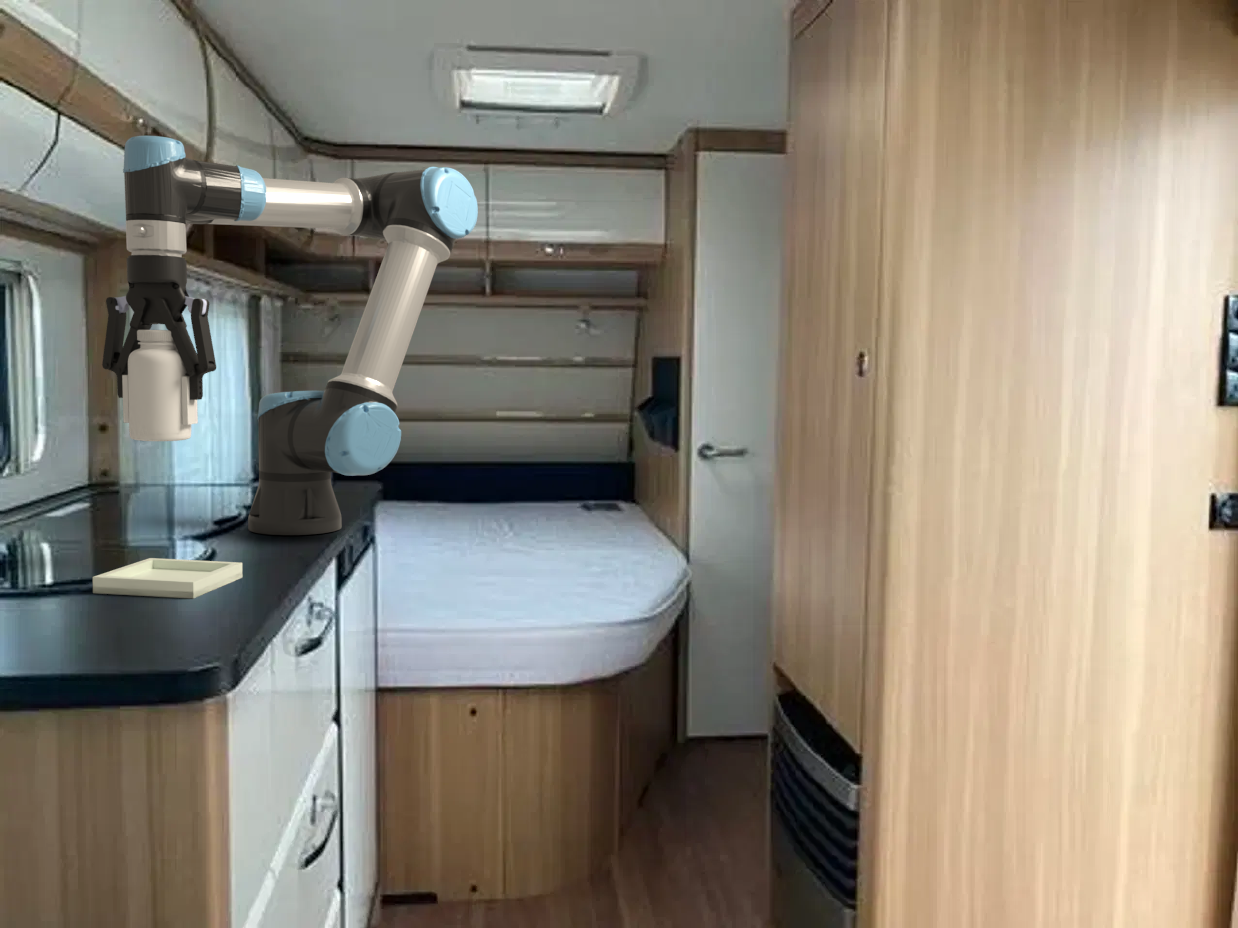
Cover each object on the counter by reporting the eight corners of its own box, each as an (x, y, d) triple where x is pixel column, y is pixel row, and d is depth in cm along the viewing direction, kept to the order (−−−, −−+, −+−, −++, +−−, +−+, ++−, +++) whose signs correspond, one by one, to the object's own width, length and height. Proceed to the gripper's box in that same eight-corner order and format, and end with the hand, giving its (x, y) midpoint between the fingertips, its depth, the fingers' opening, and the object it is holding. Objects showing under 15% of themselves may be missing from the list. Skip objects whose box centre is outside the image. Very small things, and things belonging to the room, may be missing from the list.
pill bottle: (140, 442, 147) (137, 329, 145) (121, 438, 153) (118, 329, 151) (200, 440, 152) (198, 330, 151) (179, 436, 158) (177, 330, 157)
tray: (150, 572, 148) (149, 557, 148) (242, 577, 147) (242, 562, 147) (93, 592, 136) (92, 576, 135) (193, 598, 134) (193, 582, 134)
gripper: (68, 252, 147) (73, 422, 150) (216, 253, 145) (219, 427, 147) (101, 256, 155) (106, 419, 157) (242, 258, 152) (244, 423, 155)
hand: (160, 422), depth 152 cm, fingers closed on pill bottle, 8 cm apart
